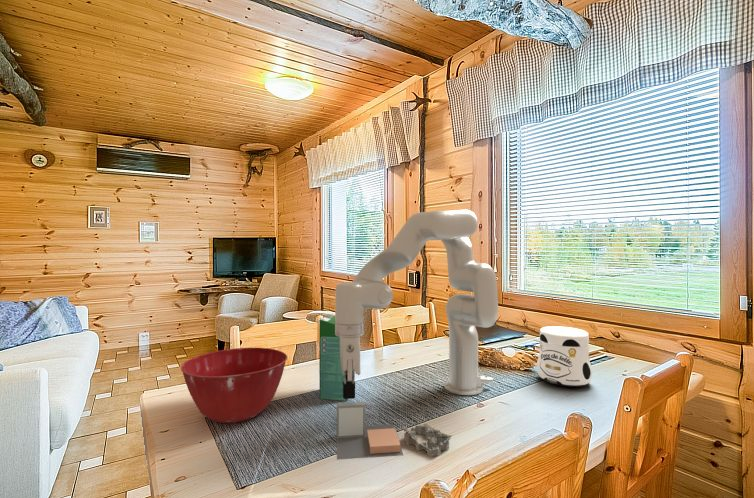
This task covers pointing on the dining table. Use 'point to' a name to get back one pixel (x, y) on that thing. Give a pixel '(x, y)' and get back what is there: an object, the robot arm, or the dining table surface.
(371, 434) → the terracotta tile
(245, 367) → the mixing bowl
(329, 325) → the milk carton
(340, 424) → the grey flat block
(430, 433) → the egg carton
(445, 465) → the dining table surface
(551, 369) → the milk container
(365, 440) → the rubber mat
